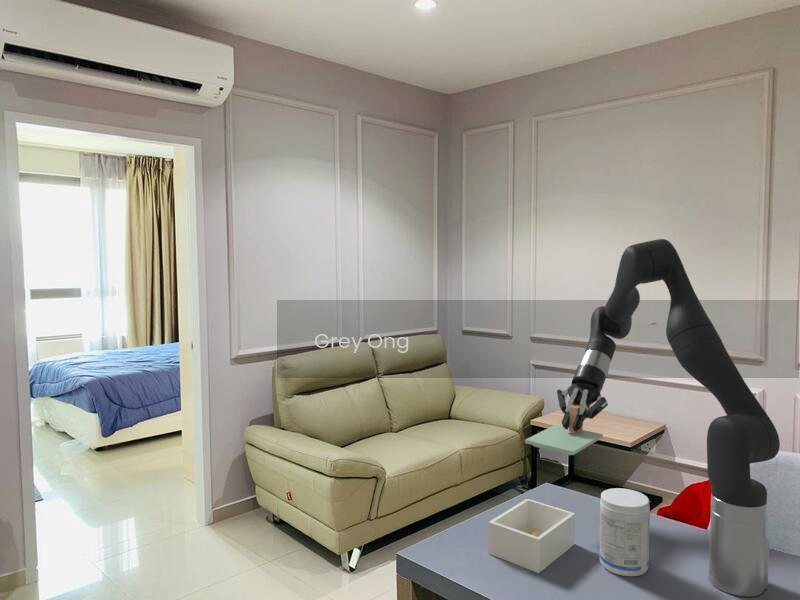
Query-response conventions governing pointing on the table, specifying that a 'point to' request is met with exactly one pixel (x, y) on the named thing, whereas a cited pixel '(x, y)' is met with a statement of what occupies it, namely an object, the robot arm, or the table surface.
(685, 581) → the table surface
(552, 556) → the parts tub
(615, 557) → the supplement tub
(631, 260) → the robot arm
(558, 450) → the lid
